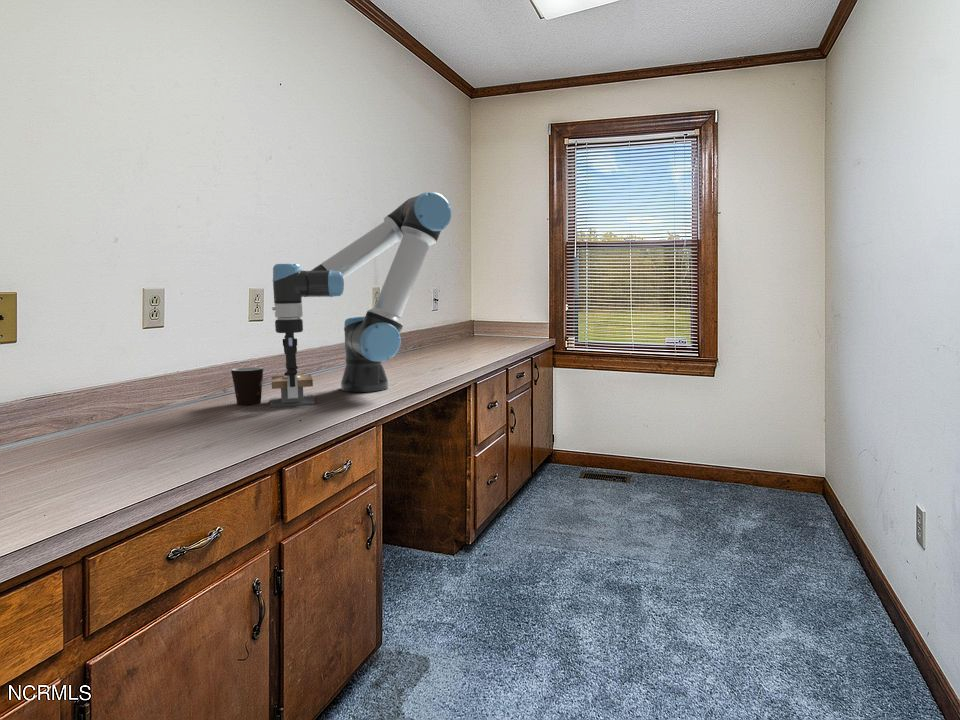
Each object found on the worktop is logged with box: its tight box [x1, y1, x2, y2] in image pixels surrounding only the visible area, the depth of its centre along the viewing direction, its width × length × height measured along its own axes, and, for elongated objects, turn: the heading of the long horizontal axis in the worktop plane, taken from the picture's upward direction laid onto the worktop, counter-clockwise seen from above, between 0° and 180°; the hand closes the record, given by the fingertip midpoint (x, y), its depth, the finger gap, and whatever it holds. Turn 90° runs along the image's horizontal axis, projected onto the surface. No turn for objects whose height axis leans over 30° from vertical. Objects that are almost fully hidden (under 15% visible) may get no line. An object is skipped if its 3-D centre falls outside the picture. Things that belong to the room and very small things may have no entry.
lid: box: [271, 373, 314, 390], centre depth 185 cm, size 11×11×2 cm
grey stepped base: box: [269, 387, 316, 408], centre depth 185 cm, size 12×12×5 cm
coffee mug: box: [230, 366, 264, 407], centre depth 185 cm, size 12×9×10 cm
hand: (292, 394), depth 185 cm, fingers closed on lid, 11 cm apart
